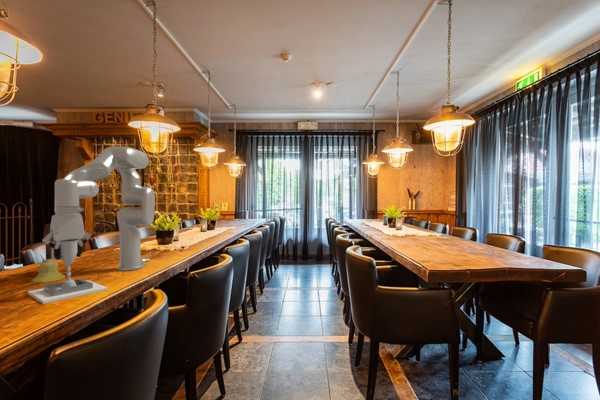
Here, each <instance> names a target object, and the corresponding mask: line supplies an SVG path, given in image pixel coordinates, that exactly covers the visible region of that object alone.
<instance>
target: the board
mask: <svg viewBox="0 0 600 400" xmlns="http://www.w3.org/2000/svg"><path fill="white" fill-rule="evenodd" d="M85 280H86V279H85ZM86 281H89V282H91V283H93V288H92V289H87V290H82V291H77V292H72V293H67V294H62V295H58V296H52V295H50V294H49V293H47V292H45V291H43V288H38V289H34V290H28V291H27V295H29V296H30V297H31V298H33V299H35V300H36V301H38V302H40V303H41V304H43V305H45V304H51V303H54V302H60V301H64V300H68V299H73V298H77V297H78V298H79V297H81V296H86V295H91V294H96V293H100V292H101V293H102V292H104V291H108V289H109V287H108V286H105V285H102V284H99V283H98V282H97V283H96V282H94V281H91V280H88V279H87V280H86ZM58 289H61V288H58Z"/></svg>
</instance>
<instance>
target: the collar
mask: <svg viewBox="0 0 600 400" xmlns="http://www.w3.org/2000/svg"><path fill="white" fill-rule="evenodd" d="M73 280H74V281H75V283H76V285H77V286H72V287H66V288H61V287H62V284H63V282H64V281H61V282H60V281H59V282H54V283H49V284H44V285H43V287H42V289H43V291H45V292H47V293H49V294H50V295H52V296H58V295H62V294H67V293H72V292H77V291H82V290H87V289H92V288H93V283H91V282H89V281H90V280H89V281H86V279H83V278H77V279H73ZM58 288H61V289H58Z"/></svg>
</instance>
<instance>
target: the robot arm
mask: <svg viewBox="0 0 600 400" xmlns="http://www.w3.org/2000/svg"><path fill="white" fill-rule="evenodd" d="M149 161H150V160H149V157H148V155H147V154H146V153H145V152H143V151H142V150H139V149H136V148H133V147H129V146H109V147H106V148H104V149H103V150H102V151H101V152H100V153H99V154H98V155H97V156H96V157H95V158H94V159H93V160H92V161H91V162H90V163H87V164H85V165H82V166H80V167H78V168H76V169H74V170H72V171H71V172H68V174H66V175H65V176H64V177H63V178H62V179H61V178H60V179H59V178H58V179H56V180H55V182H54V211H55V212H54V214H53V215H52V216H51V221H50V224H51V228H50V233H49V234H48V235H47V236H46V237H45V238H44V237H43V239H42V242H44V243H45V245H46V244H48V245H49V246H50V247H52V250H53V257H54V258H55V260H61V258H60V249H59V245H60V242H61V241H70V240H78V242H77V250H78V252H77V255H76V257H78V258H79V257H80V258H81V256H82V254H83V246H84V245H85V244H86V242H88V240H90V239H91V237H92V235H91V234H90V233H89V232H87V231H86V230H85V225H84V219H83V216H82V214H80V213H81V212H84V211H85V210H84V207H81V206H80V199H91V198H94V197H96V196H97V195H98V194H99V191H100V188H99V185H98V184H97V183H96V182H95V181H99V180H102V179H105V178H107V177H109V176H110V175H111V173H112V172H113V171H114V169H116V170H117V171H118V172H119V174H120V177H121V202H122V203H123V204H125V205H128V207H123V208H121V209H119V210H118V211H117V213H116V219H117V224H118V231H119V265H118V266H116V267H115V269H116V270H117V271H134V270H140V269H142V268H144V267H145V263H150V261H151V258H150V257H149V258H142V256H141V251H142V250H141V247H142V246H141V232H140V230H139V228H138V227H139V226H140V227H141V226H142V227H145V226H146V227H147V226H150V225H152V224H153V223H154V221H155V220H154V219H155V206H156V196H155V191H154V190H153V188H152V187H150V186H141V177H140V175H139V173H138V171H137V170H140V169H141V170H143V169H146V167H148V166H149ZM136 169H137V170H136ZM129 205H130V206H132V205H133V206H138V205H139V207H129ZM140 206H141V207H140ZM49 239H51V240H52V242H50V241H49ZM53 241H54V242H53Z"/></svg>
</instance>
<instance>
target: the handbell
mask: <svg viewBox="0 0 600 400" xmlns="http://www.w3.org/2000/svg"><path fill="white" fill-rule="evenodd" d="M50 228H51V223H46V224H45V225H44V229H43V239H44V238H45V237H46V236H47V235H48V234H49V233H50ZM49 241H50V242H52V243H53V240H51V239H49ZM52 253H53V248H52V247H50V246H49V245H48V244H46V243H45V259H44V260H45V262H44V263H42V262H41V263H40V265H39V267H38V268H39V269H38V270H39V271H38V273H37V274H36V276H35V277H34V278H32V280H31V281H30V282H31V283H33V284H36V283H38V284H39V283H41V284H42V283H49V282H50V281H51V282H55V281H56V280H57V281H61V280H63V278H64V279H66V278H67V275H66V274H64V273H62V272H61V271H59V263H58V262H56V261H54V260H53V254H52ZM65 277H66V278H65ZM51 282H50V283H51Z"/></svg>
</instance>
